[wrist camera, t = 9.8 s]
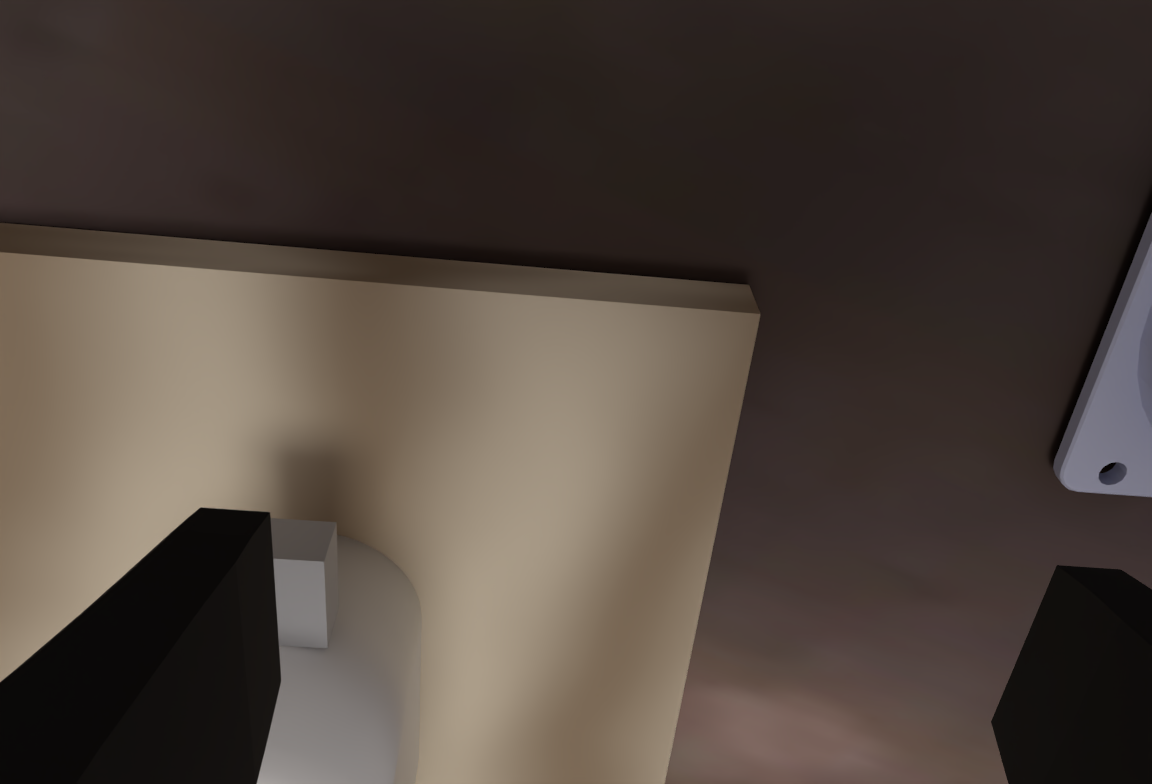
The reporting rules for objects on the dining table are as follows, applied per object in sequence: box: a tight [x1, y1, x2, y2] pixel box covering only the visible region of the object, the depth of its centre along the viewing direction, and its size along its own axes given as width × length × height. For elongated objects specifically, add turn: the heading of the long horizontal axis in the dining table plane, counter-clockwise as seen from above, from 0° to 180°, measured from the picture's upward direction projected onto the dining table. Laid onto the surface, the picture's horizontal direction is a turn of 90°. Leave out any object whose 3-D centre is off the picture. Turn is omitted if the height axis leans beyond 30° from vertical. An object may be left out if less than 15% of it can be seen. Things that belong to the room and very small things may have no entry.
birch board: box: [0, 223, 761, 784], centre depth 22 cm, size 15×19×1 cm
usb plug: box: [257, 518, 422, 784], centre depth 18 cm, size 4×10×5 cm, turn 175°
